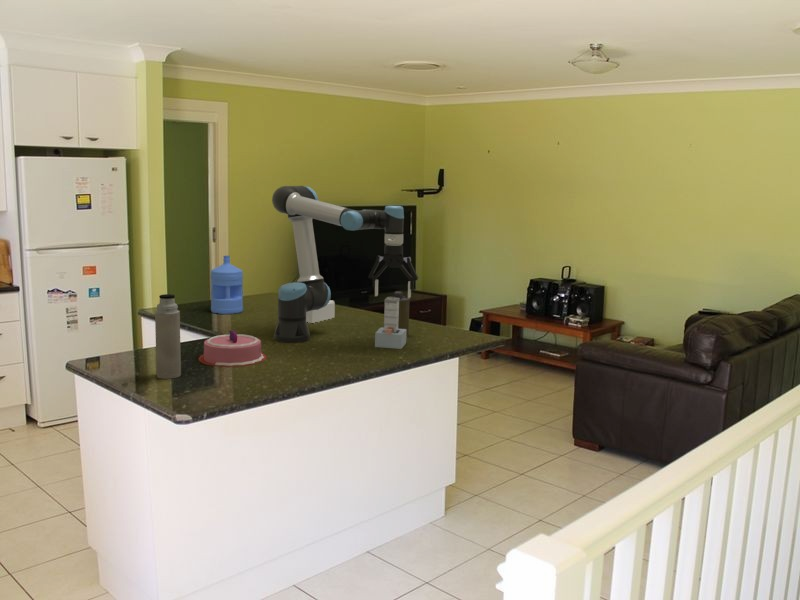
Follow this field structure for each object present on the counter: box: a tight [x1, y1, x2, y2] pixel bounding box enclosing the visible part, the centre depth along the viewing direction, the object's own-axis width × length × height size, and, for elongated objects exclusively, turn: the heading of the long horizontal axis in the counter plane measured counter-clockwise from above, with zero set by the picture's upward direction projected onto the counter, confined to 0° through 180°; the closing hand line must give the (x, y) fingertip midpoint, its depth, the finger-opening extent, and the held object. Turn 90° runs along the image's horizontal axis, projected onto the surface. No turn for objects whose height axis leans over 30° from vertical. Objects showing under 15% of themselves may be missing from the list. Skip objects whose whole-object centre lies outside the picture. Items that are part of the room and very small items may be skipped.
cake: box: [198, 329, 267, 368], centre depth 275 cm, size 25×25×11 cm
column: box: [383, 296, 400, 333], centre depth 300 cm, size 5×7×19 cm
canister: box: [388, 291, 411, 338], centre depth 319 cm, size 11×10×20 cm
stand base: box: [374, 327, 407, 350], centre depth 301 cm, size 13×13×9 cm
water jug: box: [210, 255, 244, 315], centre depth 363 cm, size 16×16×28 cm
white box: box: [306, 299, 336, 324], centre depth 353 cm, size 18×18×16 cm
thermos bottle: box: [154, 293, 182, 380], centre depth 248 cm, size 8×8×28 cm
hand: (392, 296), depth 298 cm, fingers open, 13 cm apart
